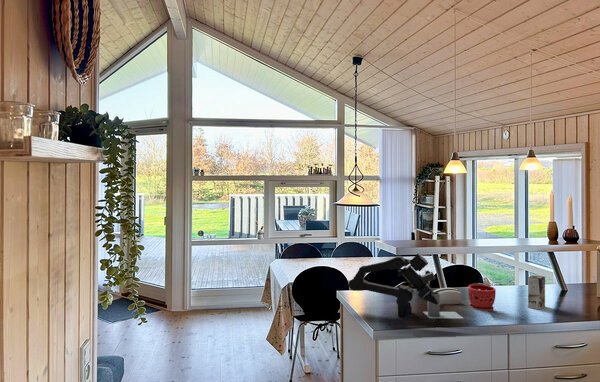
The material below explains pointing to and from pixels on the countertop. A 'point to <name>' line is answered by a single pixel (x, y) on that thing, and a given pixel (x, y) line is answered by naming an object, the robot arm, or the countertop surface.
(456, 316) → the base plate
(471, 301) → the plant pot
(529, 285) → the coffee box
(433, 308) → the steel sleeve
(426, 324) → the countertop surface
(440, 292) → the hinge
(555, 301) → the countertop surface
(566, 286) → the countertop surface
